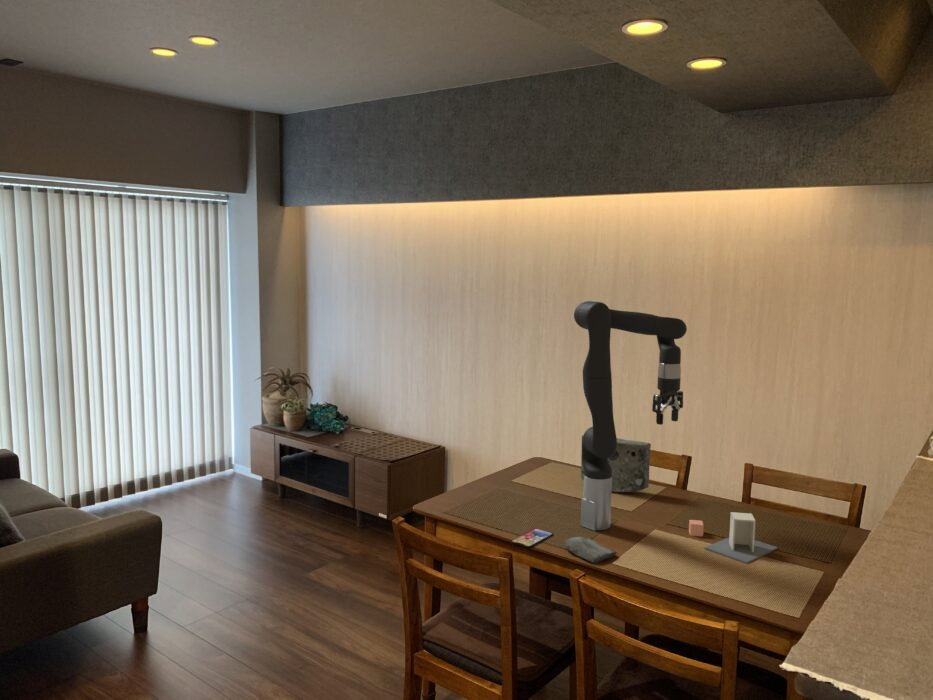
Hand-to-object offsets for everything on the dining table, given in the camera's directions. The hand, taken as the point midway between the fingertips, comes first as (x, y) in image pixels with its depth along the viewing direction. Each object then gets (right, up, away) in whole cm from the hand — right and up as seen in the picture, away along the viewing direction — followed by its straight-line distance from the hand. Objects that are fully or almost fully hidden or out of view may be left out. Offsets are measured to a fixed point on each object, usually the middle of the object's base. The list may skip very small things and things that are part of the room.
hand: (667, 422), depth 250 cm
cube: (+6, -35, -13) cm, 38 cm away
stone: (-32, -37, -29) cm, 57 cm away
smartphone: (-48, -36, -18) cm, 62 cm away
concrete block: (-12, -29, +33) cm, 46 cm away
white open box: (+16, -36, -25) cm, 47 cm away
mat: (+16, -37, -25) cm, 47 cm away
